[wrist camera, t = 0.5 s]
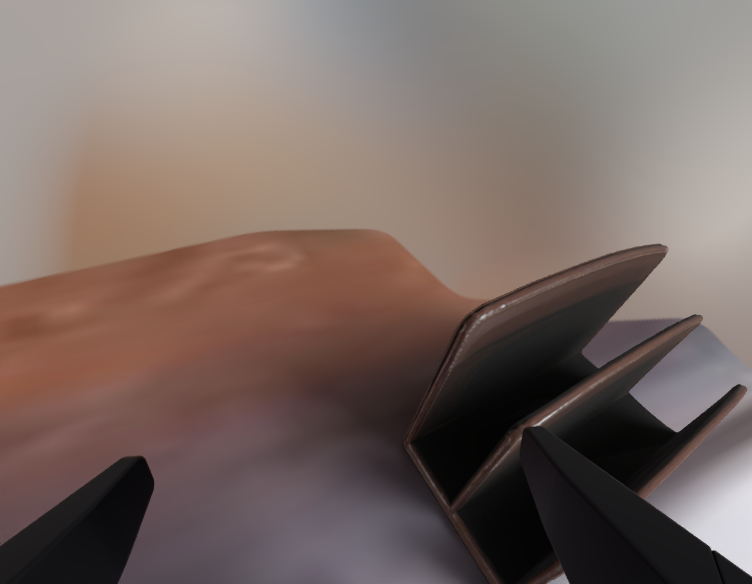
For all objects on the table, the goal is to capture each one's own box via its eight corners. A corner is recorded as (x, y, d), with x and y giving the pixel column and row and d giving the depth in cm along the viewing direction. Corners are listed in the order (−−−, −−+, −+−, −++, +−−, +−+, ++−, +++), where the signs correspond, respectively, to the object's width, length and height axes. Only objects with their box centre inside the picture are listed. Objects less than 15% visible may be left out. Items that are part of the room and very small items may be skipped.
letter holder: (398, 444, 24) (464, 287, 15) (568, 355, 34) (669, 226, 25) (503, 613, 18) (710, 515, 9) (674, 447, 28) (857, 321, 19)
